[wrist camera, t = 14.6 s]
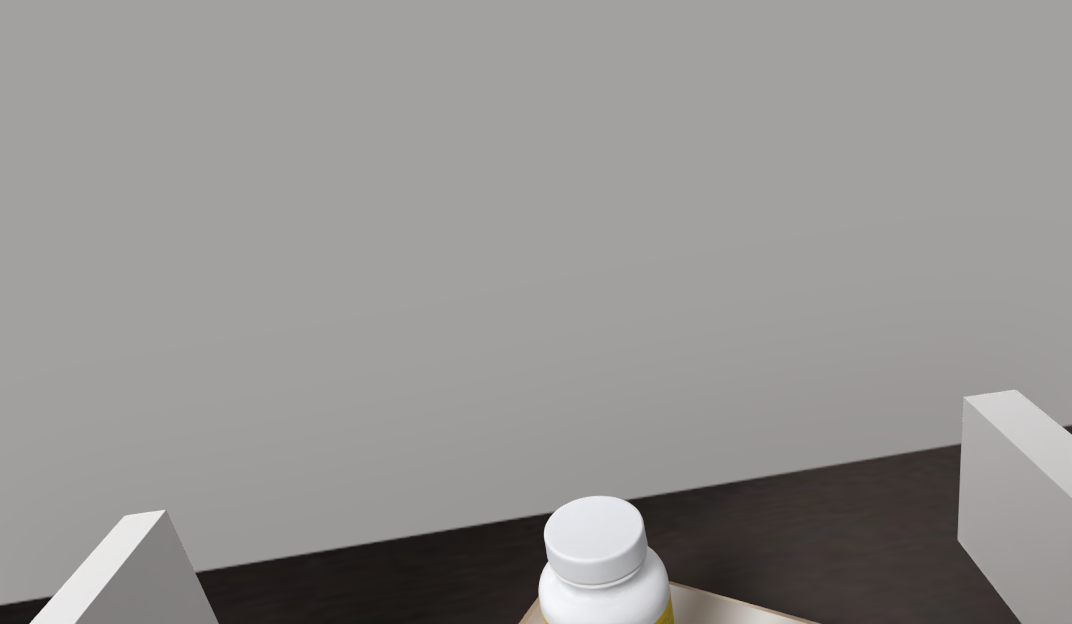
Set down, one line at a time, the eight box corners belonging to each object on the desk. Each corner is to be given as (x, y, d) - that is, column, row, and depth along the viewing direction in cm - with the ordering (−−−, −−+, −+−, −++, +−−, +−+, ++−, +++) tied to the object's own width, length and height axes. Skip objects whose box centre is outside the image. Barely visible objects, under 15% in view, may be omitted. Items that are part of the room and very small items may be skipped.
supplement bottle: (682, 654, 34) (662, 481, 30) (687, 765, 29) (664, 575, 25) (569, 653, 35) (536, 487, 31) (555, 761, 30) (515, 577, 26)
